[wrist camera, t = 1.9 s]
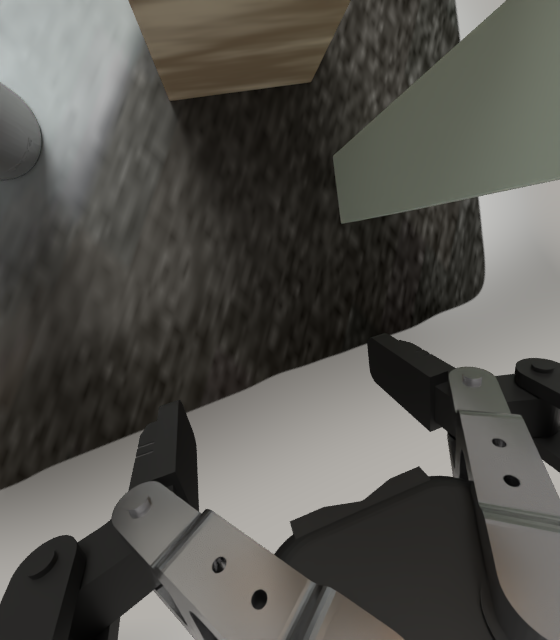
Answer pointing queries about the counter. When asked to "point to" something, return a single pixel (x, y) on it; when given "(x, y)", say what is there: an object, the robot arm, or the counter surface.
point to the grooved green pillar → (464, 122)
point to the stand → (236, 42)
